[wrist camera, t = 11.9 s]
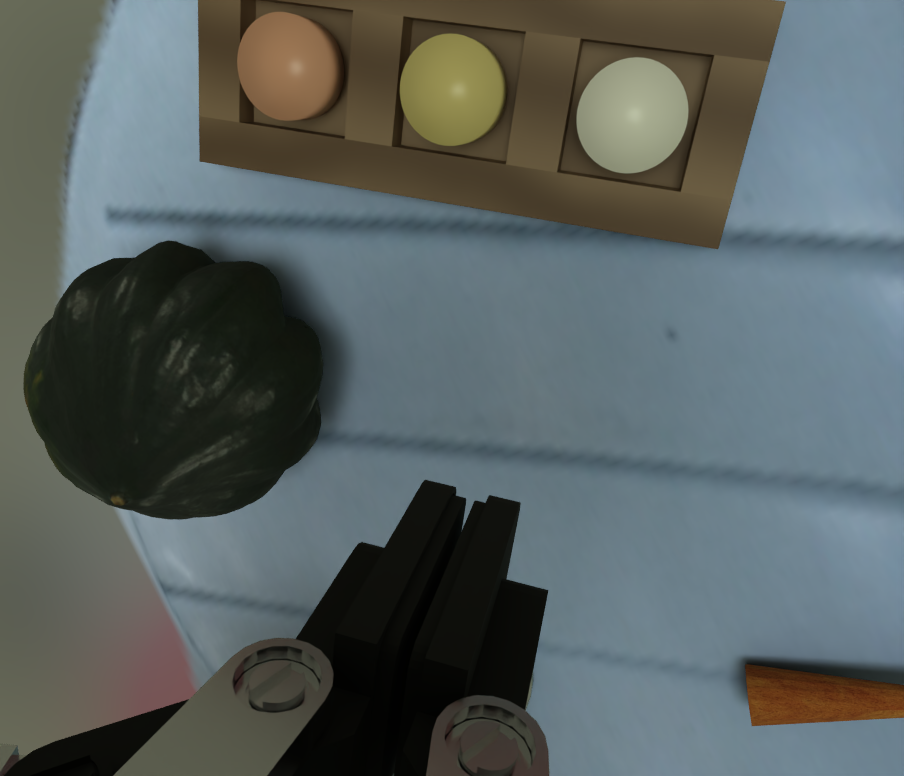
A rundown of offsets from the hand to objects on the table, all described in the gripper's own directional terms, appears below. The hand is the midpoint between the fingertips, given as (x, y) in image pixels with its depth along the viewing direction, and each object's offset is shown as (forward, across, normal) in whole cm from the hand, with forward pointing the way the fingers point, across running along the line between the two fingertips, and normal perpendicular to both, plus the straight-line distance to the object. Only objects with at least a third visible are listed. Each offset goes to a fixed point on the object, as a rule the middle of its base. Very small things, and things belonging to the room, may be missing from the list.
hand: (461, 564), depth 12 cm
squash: (+27, +19, +9) cm, 35 cm away
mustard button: (+25, +7, -7) cm, 27 cm away
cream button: (+25, -1, -7) cm, 26 cm away
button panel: (+27, +7, -7) cm, 29 cm away
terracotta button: (+25, +15, -7) cm, 30 cm away
